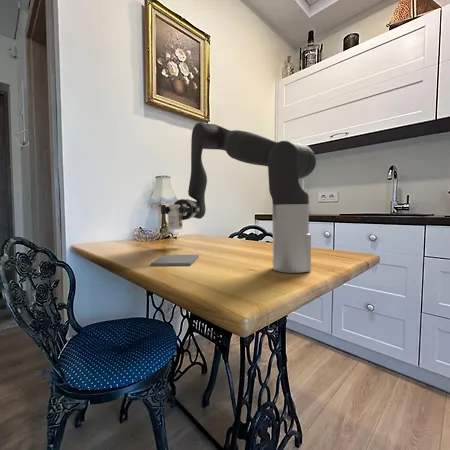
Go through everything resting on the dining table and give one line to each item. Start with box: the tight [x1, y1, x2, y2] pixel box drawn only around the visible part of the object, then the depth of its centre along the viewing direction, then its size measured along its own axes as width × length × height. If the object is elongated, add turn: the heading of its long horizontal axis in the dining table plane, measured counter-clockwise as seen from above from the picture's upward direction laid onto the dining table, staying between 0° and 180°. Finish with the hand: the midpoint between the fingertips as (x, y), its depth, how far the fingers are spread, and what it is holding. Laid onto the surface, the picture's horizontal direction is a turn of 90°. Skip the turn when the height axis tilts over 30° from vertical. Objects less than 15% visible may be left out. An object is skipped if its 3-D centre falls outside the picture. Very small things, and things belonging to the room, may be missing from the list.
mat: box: [150, 254, 200, 267], centre depth 83 cm, size 12×14×1 cm
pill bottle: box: [167, 204, 183, 230], centre depth 82 cm, size 4×4×8 cm
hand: (172, 210), depth 79 cm, fingers closed on pill bottle, 4 cm apart
